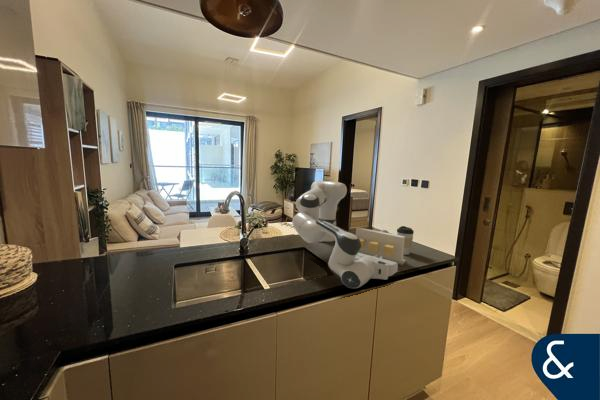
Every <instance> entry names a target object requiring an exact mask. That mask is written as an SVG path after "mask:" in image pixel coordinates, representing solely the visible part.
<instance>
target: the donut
mask: <svg viewBox="0 0 600 400" xmlns="http://www.w3.org/2000/svg"><path fill="white" fill-rule="evenodd" d="M379 232H384V233H390V232H389V231H388V230H386V229H381V230H379ZM378 243H379V245H380V242H378Z"/></svg>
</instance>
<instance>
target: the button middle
mask: <svg viewBox="0 0 600 400" xmlns="http://www.w3.org/2000/svg"><path fill="white" fill-rule="evenodd" d="M379 245H380V244H379V243H378V242H373V241H372V242H370V243H369V250H371V251H375V252H377V251H378V250H379Z"/></svg>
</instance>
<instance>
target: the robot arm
mask: <svg viewBox="0 0 600 400" xmlns="http://www.w3.org/2000/svg"><path fill="white" fill-rule="evenodd" d="M347 192H348V188H347V186H346V184H345V183H342V182H339V181H330V180H329V181H328V180H317V181H313V182H312V184H311V186H310V189H309V190H308V191H306V192H304V193H302V194H300V196H299V197H298V198H297V199H296V201H295V207H296V209H297V210H298V213H296V214H295V215H294V216H293V218H292V226H293V228H294V230H295V231H296V232H297V234H298V236H299V237H301V238H302V240H303V241H305V242H306V243H309V244H315V243H318V242H319V243H320V242H323V243H324V242H327V243H328V242H335V243H334V246H333V249H332V252H331V254H330V256H329V260H328V262H327V266H328V268H329V270H330V272H332V274H334V275H335V276H336V277H337V278H339V279H340V280H341V282H342V284H343V285H344V286H345V287H346V288H348V289H358V288H361V287H363V286H364V285H366V284H367V283H368V282H369V280H371V279H373V280H375V279H377V280H378V279H379V280H388V279H389V277H391V276H393V275H394V274H396V273H397V272H398V268H399V264H398V263H396V262H393V261H389V260H385V259H383V257H382V256H378V255H376V256H370V255H366V254H363V253H359V250H360V248H361V242H360V240H359V238H358V236H356V234H354V233H352V232H349V231H347V230H345V229H343V228H341V227H339V226H338V225H337V218H336V215H337V214H336V213H337V208H338V204H339V203H340V201H341V200H343V199H344V198H345V197H346V195H347ZM325 199H326V200H325Z"/></svg>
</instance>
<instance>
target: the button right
mask: <svg viewBox="0 0 600 400" xmlns="http://www.w3.org/2000/svg"><path fill="white" fill-rule="evenodd" d="M394 249H395V246H393V245H392V246H391V245H385V246H384V254H387V255H391V256H392V255H393V254H394Z"/></svg>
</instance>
